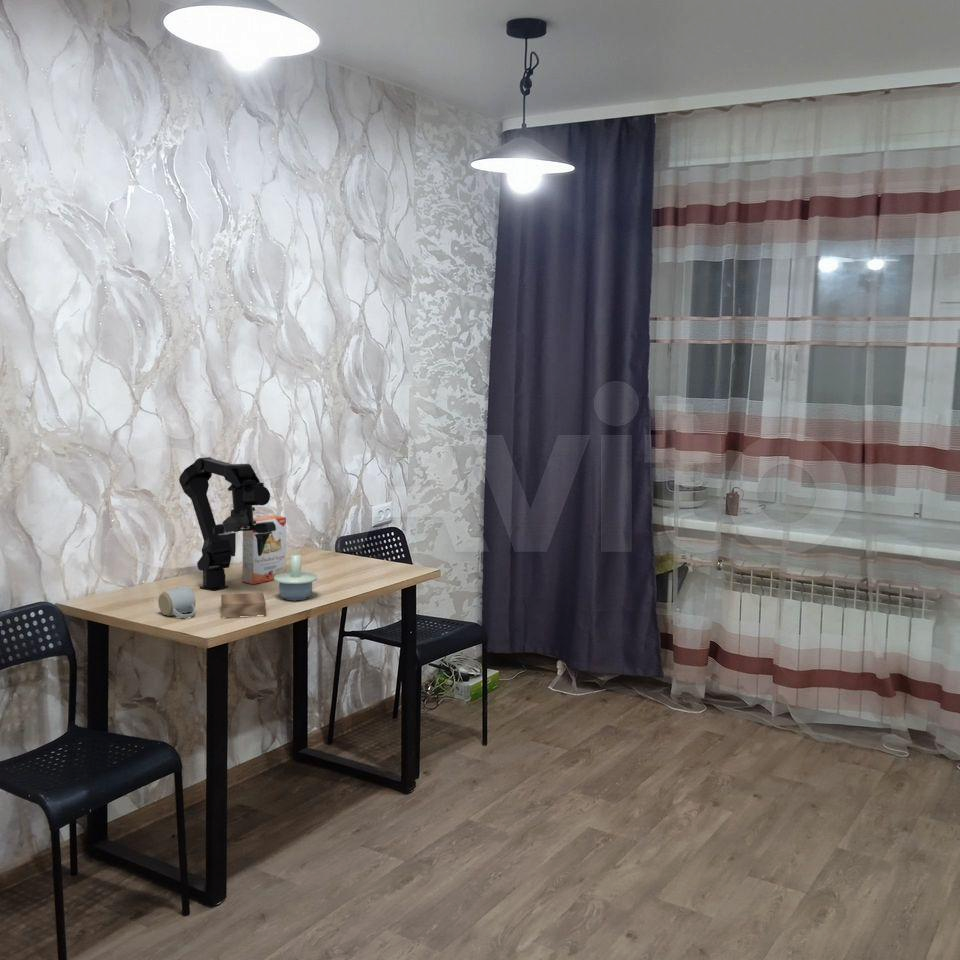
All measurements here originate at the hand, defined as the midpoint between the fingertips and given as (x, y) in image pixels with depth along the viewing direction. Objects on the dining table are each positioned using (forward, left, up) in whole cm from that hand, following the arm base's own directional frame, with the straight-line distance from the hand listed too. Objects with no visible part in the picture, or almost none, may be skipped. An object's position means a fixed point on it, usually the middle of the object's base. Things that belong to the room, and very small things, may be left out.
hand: (246, 556), depth 299 cm
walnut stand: (+11, -14, -13) cm, 22 cm away
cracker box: (-11, +20, -13) cm, 27 cm away
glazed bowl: (+13, +7, -13) cm, 20 cm away
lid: (+13, +7, -7) cm, 16 cm away
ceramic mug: (-2, -26, -13) cm, 29 cm away
